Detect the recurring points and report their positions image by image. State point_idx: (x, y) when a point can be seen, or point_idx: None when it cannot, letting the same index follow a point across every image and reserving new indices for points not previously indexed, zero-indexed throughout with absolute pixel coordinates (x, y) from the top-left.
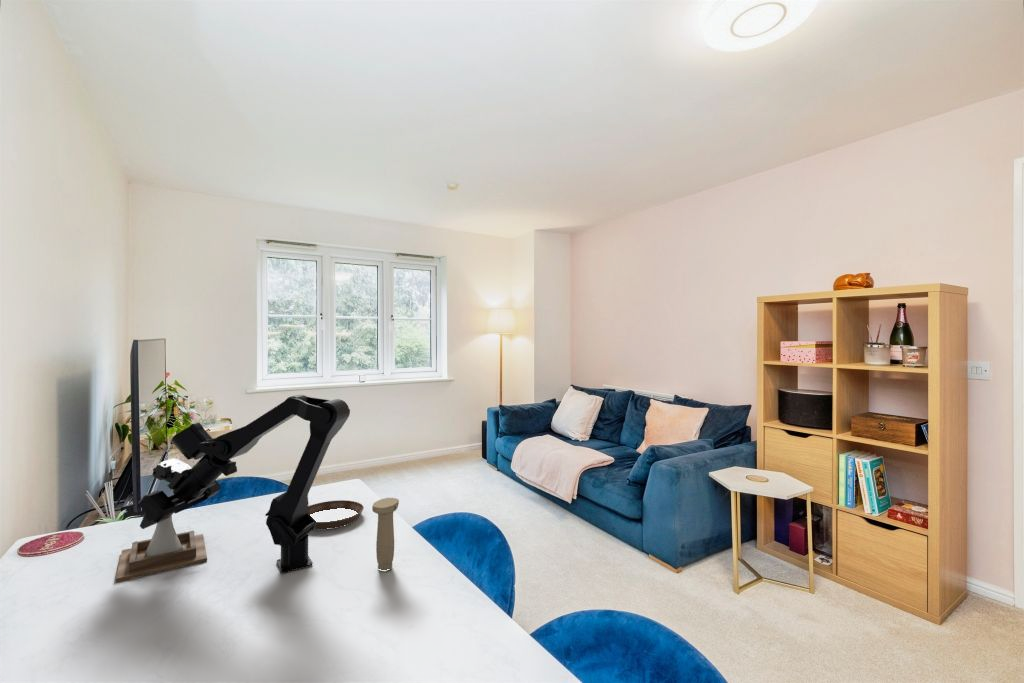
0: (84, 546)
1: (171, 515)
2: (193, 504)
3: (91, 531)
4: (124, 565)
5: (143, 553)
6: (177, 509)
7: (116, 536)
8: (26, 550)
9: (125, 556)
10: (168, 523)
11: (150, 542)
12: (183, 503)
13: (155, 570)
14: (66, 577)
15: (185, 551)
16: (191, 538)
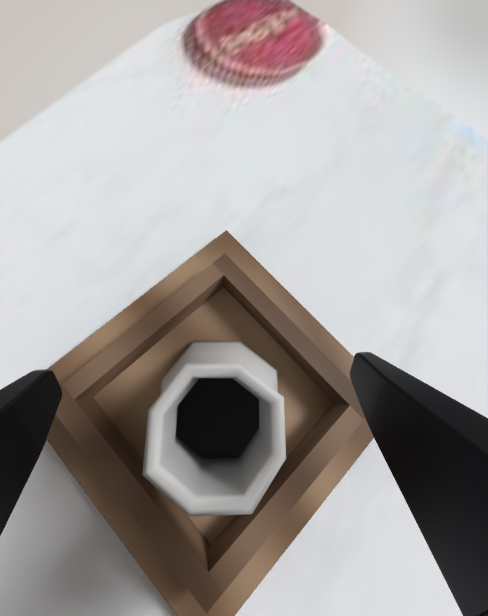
0: (251, 110)
1: (238, 479)
2: (457, 596)
3: (331, 61)
4: (118, 334)
5: (213, 318)
6: (369, 398)
7: (321, 134)
8: (212, 19)
9: (184, 278)
10: (205, 465)
11: (191, 356)
12: (428, 464)
13: (87, 489)
14: (70, 213)
15: (176, 569)
16: (302, 471)
